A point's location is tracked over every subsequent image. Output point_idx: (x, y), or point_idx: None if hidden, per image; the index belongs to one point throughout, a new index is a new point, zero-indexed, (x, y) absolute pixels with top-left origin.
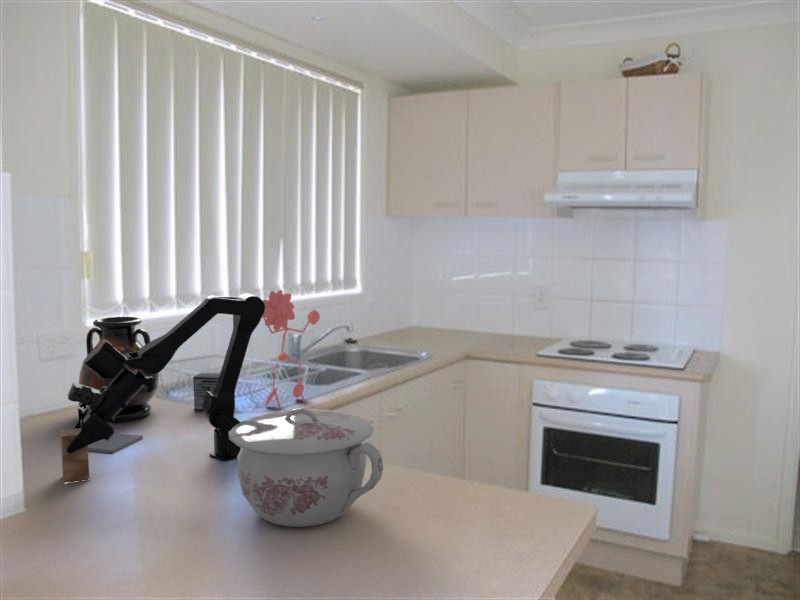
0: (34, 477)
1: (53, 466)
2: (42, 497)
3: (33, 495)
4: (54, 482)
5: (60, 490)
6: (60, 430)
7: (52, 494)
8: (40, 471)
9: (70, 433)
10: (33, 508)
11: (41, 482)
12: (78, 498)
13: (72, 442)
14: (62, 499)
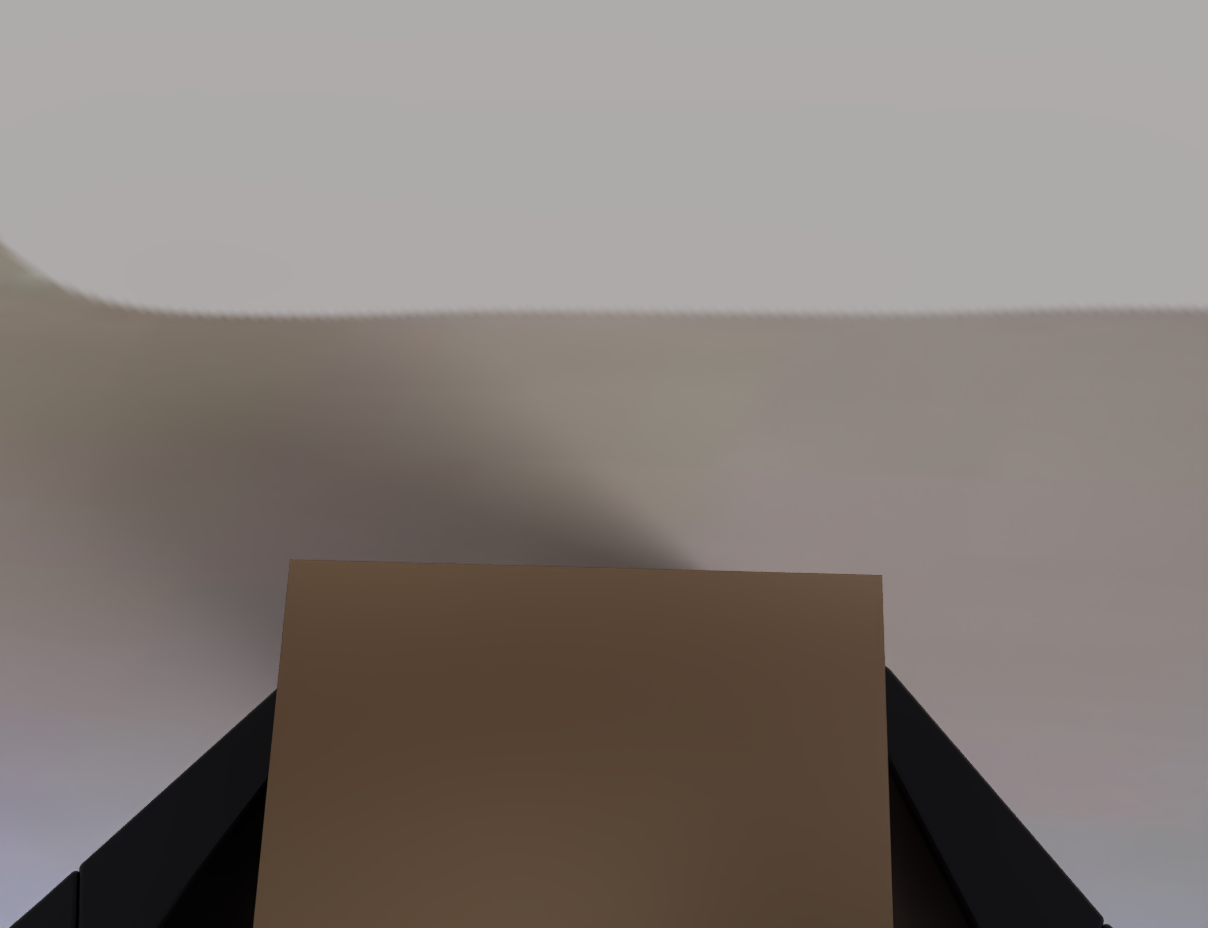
0: (855, 348)
1: (1149, 535)
2: (253, 400)
3: (347, 332)
4: (607, 517)
5: (346, 555)
6: (877, 576)
7: (280, 483)
8: (1027, 405)
9: (450, 792)
10: (36, 327)
11: (669, 404)
12: (40, 693)
13: (185, 775)
14: (101, 557)
